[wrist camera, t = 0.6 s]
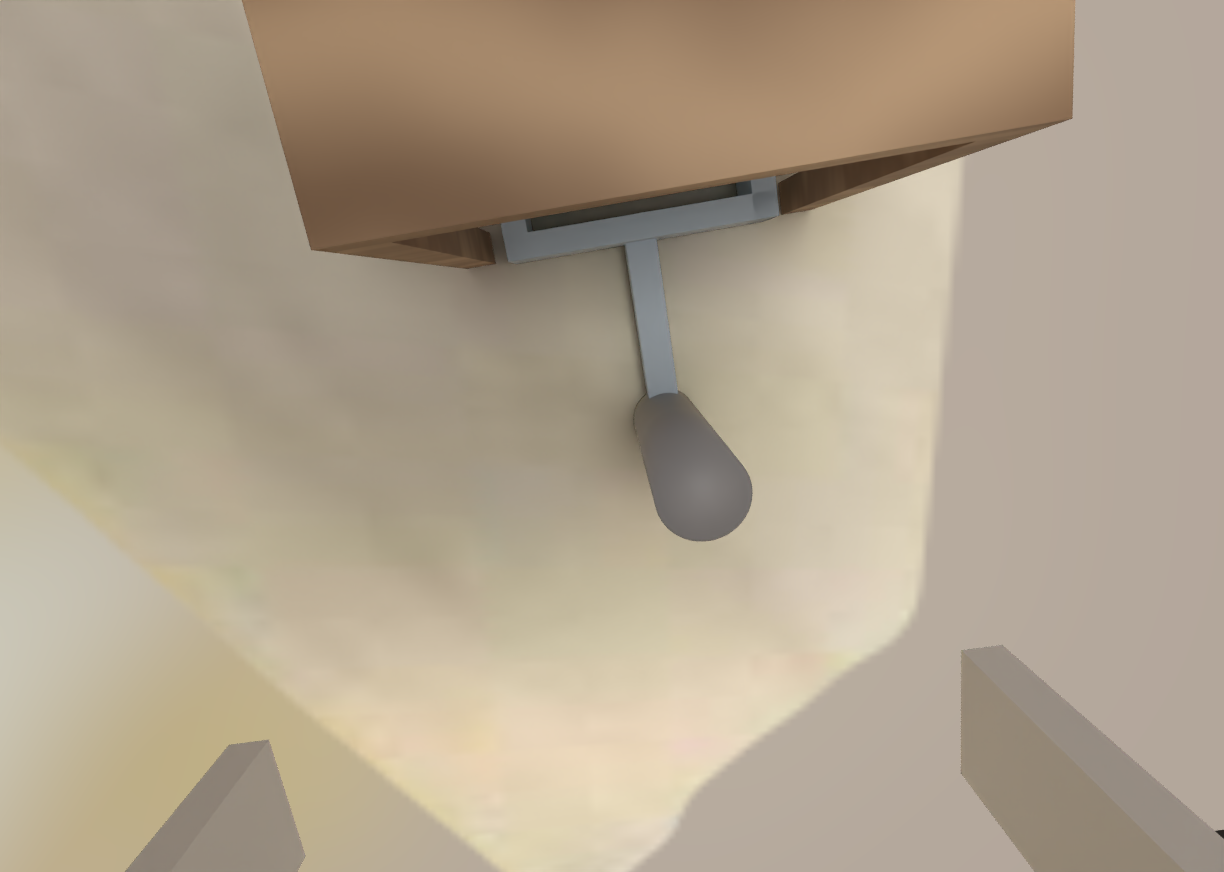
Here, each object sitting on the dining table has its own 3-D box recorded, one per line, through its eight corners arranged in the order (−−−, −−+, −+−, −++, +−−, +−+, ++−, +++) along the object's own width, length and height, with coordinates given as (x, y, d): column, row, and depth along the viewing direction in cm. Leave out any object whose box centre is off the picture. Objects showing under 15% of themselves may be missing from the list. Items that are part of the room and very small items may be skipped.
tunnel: (412, 19, 29) (136, -377, 12) (791, -49, 29) (1089, -561, 11) (466, 268, 32) (311, 250, 15) (811, 209, 32) (1072, 118, 14)
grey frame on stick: (464, 3, 29) (363, -212, 17) (736, -46, 29) (844, -301, 16) (556, 467, 35) (533, 569, 22) (782, 429, 35) (887, 511, 22)
